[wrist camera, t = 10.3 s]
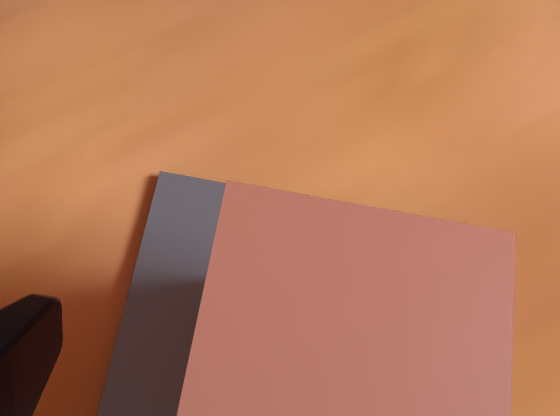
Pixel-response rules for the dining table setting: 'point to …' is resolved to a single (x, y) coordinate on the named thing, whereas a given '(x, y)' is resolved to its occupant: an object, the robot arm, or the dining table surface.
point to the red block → (350, 312)
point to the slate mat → (163, 299)
